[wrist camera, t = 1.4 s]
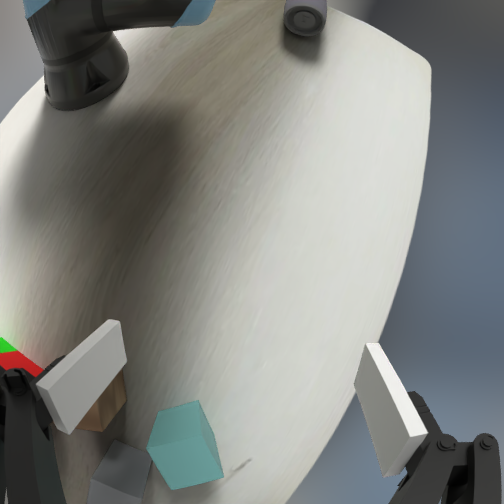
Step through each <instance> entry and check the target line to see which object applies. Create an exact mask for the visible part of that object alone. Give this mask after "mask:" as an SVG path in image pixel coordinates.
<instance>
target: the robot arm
mask: <svg viewBox="0 0 504 504" xmlns="http://www.w3.org/2000/svg"><path fill="white" fill-rule="evenodd" d="M215 1H216V0H23V3H24V9H25V14H26V16H25V18H26V19H27V21H28V24H29V26H30V29H31V32H32V35H33V37H34V40H35V43H36V45H37V48H38V50H39V53H40V55H41V58H42V60H43V63H44V81H45V93H46V96H47V98H48V100H49V102H50V104H51V105H52V106H53V107H55V108H56V109H59V110H76V109H80V108H84V107H87V106H89V105H92V104H94V103H96V102H98V101H100V100H102V99H103V98H105V97H106V96H108V95H109V94H111V93H112V92H113V91H114V90H116V89H117V88H118V87H119V86H120V85H121V83H122V82H123V81H124V79H125V78H126V76H127V74H128V71H129V63H128V57H127V54H126V52H125V50H124V49H123V48H122V46H121V44H120V43H119V41H118V39H117V38H116V36H115V35H114V33H113V31H117V30H125V29H134V28H146V27H166V26H170V27H171V28H174V27H177V26H193V25H199V24H201V23H203V22H204V21H205V20H206V19H207V18H208V17H209V15H210V13H211V11H212V8H213V6H214V3H215ZM126 362H127V359H126V354H125V348H124V343H123V337H122V331H121V325H120V321H116V320H111V319H108V320H107V321H106V322H105V323H104V324H102V325H101V326H100V327H99V328H98V329H97V330H95V331H94V332H93V333H92V334H91V335H90V336H89V337H87V338H86V339H85V340H84V341H83V342H82V343H81V344H79V345H78V346H77V347H76V348H75V349H74V350H73V351H71V352H70V353H69V354H68V355H67V356H65V355H64V356H62V357H60V358H57V359H56V360H54V361H53V362H52V363H51V364H50V366H48V367H47V368H45V370H43V371H42V372H41V373H40V374H39V375H38V376H37V377H35V378H34V379H33V380H32V381H31V382H30V383H29V381H28V379H27V377H26V374H25V372H24V371H23V370H22V369H20V368H10V369H8V370H6V371H5V372H4V373H3V374H2V376H1V378H2V380H3V383H4V385H5V387H3V386H1V384H0V504H4V501H5V493H6V488H7V497H8V504H66V500H65V497H64V493H63V489H62V485H61V481H60V476H59V472H58V467H57V462H56V456H55V450H54V443H53V436H52V429H51V426H50V425H49V424H50V423H51V422H52V421H53V422H54V424H55V425H56V427H57V429H59V430H60V431H62V432H64V433H66V434H68V435H70V434H71V432H72V431H73V430H74V429H75V427H76V426H77V425H78V423H79V422H80V421H81V419H82V418H83V417H84V416H85V414H86V413H87V412H88V410H89V409H90V408H91V406H92V405H93V404H94V403H95V401H96V400H97V399H98V397H99V396H100V395H101V394H102V392H103V391H104V390H105V389H106V387H107V386H108V385H109V384H110V382H111V381H112V380H113V379H114V377H115V376H116V375H117V374H118V372H119V371H120V370H121V369H122V367H123V366H124V365H125V364H126ZM354 386H355V389H356V392H357V395H358V398H359V401H360V404H361V407H362V410H363V413H364V416H365V419H366V422H367V426H368V429H369V432H370V435H371V438H372V442H373V445H374V448H375V451H376V455H377V458H378V462H379V465H380V469H381V472H382V476H383V477H388V476H393V475H398V474H400V472H401V471H402V470H403V469H404V467H406V470H407V475H406V476H405V477H404V478H403V479H402V481H401V482H400V483H399V485H398V486H399V488H398V489H397V491H396V493H395V494H394V496H393V497H392V499H391V501H390V502H389V504H438V503H439V501H440V499H441V497H442V499H441V504H501V469H500V456H499V447H498V442H497V440H496V439H495V437H494V436H492V435H490V434H486V433H483V434H480V435H478V436H477V437H476V438H475V440H474V441H473V442H457V440H456V439H455V438H454V437H453V436H451V435H449V434H443V433H442V432H441V430H440V428H439V426H438V424H437V422H436V420H435V419H434V417H433V415H432V414H431V413H430V410H429V408H428V407H427V405H426V403H425V401H424V400H423V398H422V397H421V396H420V395H419V394H418V393H416V392H415V391H413V392H406V390H405V388H404V387H403V385H402V383H401V381H400V380H399V378H398V376H397V374H396V372H395V371H394V369H393V367H392V365H391V364H390V362H389V360H388V359H387V357H386V355H385V353H384V352H383V350H382V348H381V347H380V345H379V343H365V346H364V350H363V354H362V358H361V361H360V365H359V368H358V372H357V375H356V378H355V382H354Z"/></svg>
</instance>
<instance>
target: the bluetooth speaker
mask: <svg viewBox="0 0 504 504" xmlns="http://www.w3.org/2000/svg"><path fill="white" fill-rule="evenodd" d="M326 16H327V1H326V0H286V4H285V8H284V23H285V25H286V27H287V28H288V29H289V30H290V31H291V32H293V33H295V34H298V35H301V36H314V35H316V34H318V33H320V32H321V31H322V30H323V28H324V26H325V23H326Z"/></svg>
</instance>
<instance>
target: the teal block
mask: <svg viewBox="0 0 504 504" xmlns="http://www.w3.org/2000/svg"><path fill="white" fill-rule="evenodd" d="M146 449H147V451H148V453H149V454H150V456H151V458H152V460H153V461H154V463H155V465H156V466H157V468H158V470H159V471H160V473H161V475H162V476H163V478H164V479H165V481H166V483H167V484H168V486H169V487H170V489H171V490H175V489H180V488H185V487H189V486H194V485H198V484H202V483H206V482H209V481H213V480H217V479H220V478H223V477H224V475H223V471H222V466H221V462H220V458H219V454H218V449H217V445H216V441H215V436H214V433H213V431H212V429H211V427H210V425H209V423H208V421H207V418H206V416H205V414H204V412H203V409H202V407H201V405H200V403H199V400H197V401H194V402H190V403H187V404H184V405H180V406H177V407H173V408H169V409H166V410H162V411H158V414H157V417H156V420H155V423H154V426H153V429H152V432H151V435H150V438H149V441H148V444H147V447H146Z"/></svg>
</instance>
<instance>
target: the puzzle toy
mask: <svg viewBox="0 0 504 504" xmlns="http://www.w3.org/2000/svg"><path fill="white" fill-rule="evenodd" d="M10 368H20V369H22V370H23V371H24V372H25V374H26V377H27V379H28V381H29V383H30V382H31V381H32V380H33V379H34V378H35V377H37V376H38V375H39V374H40V373H41V372H42V371H43V369H42V368H40V367H39V366H37V365H36V364H35V363H33V362H32V361H31V360H29V359H28V358H27V357H25V356H24V355H23V354H21V353H20V352H19V351H18V350H16V349H15V348H14V347H13V346H11V345H10V344H9V343H8V342H7V341H5V340H4V339H3V338H2V337H0V384H1V386H3V387H5V385H4V383H3V380H2V378H1V376H2V374H3V373H4V372H5V371H6V370H8V369H10Z"/></svg>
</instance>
